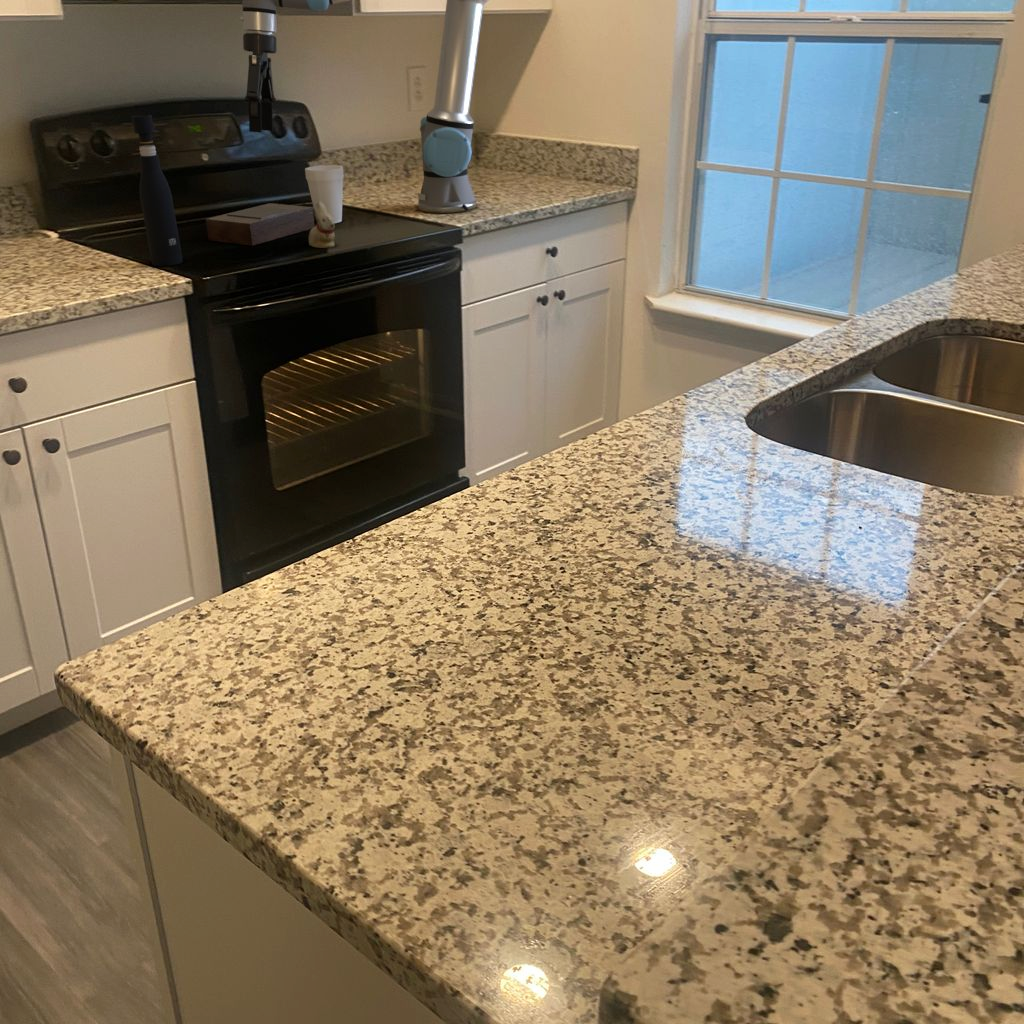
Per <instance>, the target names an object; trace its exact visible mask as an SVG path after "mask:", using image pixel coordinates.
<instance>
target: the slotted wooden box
mask: <svg viewBox="0 0 1024 1024" xmlns="http://www.w3.org/2000/svg"><path fill="white" fill-rule="evenodd" d="M313 208H314V207H313V206H303V205H293V204H284V203H283V204H281V203H272V202H271V203H265V204H261V205H257V206H253V207H249V208H245V209H241V210H237V211H232V212H228V213H224V214H221V215H220V214H219V215H215V216H212V217H208V218H205V225H206V232H207V237H208V241H211V242H219V243H227V244H236V245H245V246H251V247H252V246H256V245H260V244H263V243H266V242H270V241H274V240H278V239H280V238H281V239H282V238H284V237H288V236H291V235H294V234H299V233H302V232H306V231H310V230H311V229H312V228H313V227H315V226H316V225H315V218H314V217H315V215H314V211H313Z"/></svg>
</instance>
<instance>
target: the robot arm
mask: <svg viewBox="0 0 1024 1024" xmlns="http://www.w3.org/2000/svg"><path fill="white" fill-rule="evenodd" d="M350 1H352V0H242V2H241V3H242V15H243V16H240V17H239V19H240V21H241V22H242V30H243V31H244V32H245V33H243V35H242V44H243V45H242V47H243V48H242V49H243V50H244V51H245V52H249V53H250V52H251V53H252V54H248V71H247V83H246V94H245V96H244V101H245V102H248V128H249V129H248V131H249V132H251V133H262V132H263V131H267V132H273V131H274V117H273V113H274V112H273V109H274V108H273V107H274V106H273V103H276V102H277V98H276V97H275V93H274V92H275V91H274V82H273V73H272V59H271V57H268V54H276V53H277V49H278V48H277V37H276V36H275V34H277V32H278V29H277V27H278V26H277V8H287V9H297V10H307V11H308V10H309V11H313V12H314V11H315V12H317V11H321V12H322V11H327V10H328V9H329V6H331V5H335V4H340V3H345V2H350ZM489 1H490V0H446V5H445V13H444V19H443V20H444V21H443V29H442V36H441V37H442V38H441V46H440V55H439V63H438V70H437V77H436V78H437V79H436V88H435V95H434V105H433V108H432V109H430V110H429V111H428V112H427V113H426V116H423V117H422V118H421V119H420V126H419V130H420V140H421V155H422V170H423V171H422V172H423V173H422V174H423V180H422V184H421V189H420V192H417V197H418V203H417V204H418V210H419V211H422V212H426V213H434V214H449V213H450V214H451V213H461V212H462V213H463V212H469V211H472V210H474V209H475V208H476V207H477V198H476V196H475V194H474V190H473V188H472V185H471V182H470V179H469V170H468V167H469V166H468V165H469V164H470V162H471V160H472V154H473V151H472V140H473V134H474V133H473V131H474V125H475V120H474V119H473V118H472V115H470V109H471V101H472V92H473V85H474V79H475V71H476V63H477V55H478V48H479V40H480V33H481V26H482V19H483V11H484V6H485V4H486V3H487V2H489Z"/></svg>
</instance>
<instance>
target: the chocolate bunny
mask: <svg viewBox="0 0 1024 1024" xmlns="http://www.w3.org/2000/svg"><path fill="white" fill-rule="evenodd" d="M313 216H314V217H315V220H316V219H317V220H316V225H315V227H313V228H312V229H310V230H309V234H308V245H309V246H310V247H312V248H318V249H329V248H334V247H335V246H336V245H335V241H334V240H335V237H336V235H335V231H334V229H335V227H336V225H335V224H336V223H334V219H333V217H332V216H331V215H330V214H329V213H328V211H327V209H326V207H325V205H324V204H323V203H322V202H320V201H318V203H317V204H316V206H314V207H313Z"/></svg>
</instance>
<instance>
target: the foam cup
mask: <svg viewBox="0 0 1024 1024" xmlns="http://www.w3.org/2000/svg"><path fill="white" fill-rule="evenodd" d="M304 174H305V180H306V181H307V187H308V190H309V194H310V195H309V196H310V199H311V203H312V207H313V208H314V206H316V204H317V203H318V201H320V202H322V203H323V204H324V205H325V207H326V209H327V211H328V213H329V214H330V215H331V216H332V217H333V219H334V224H337V223H341V222H342V221H343V197H344V196H343V195H344V194H343V193H344V178H345V174H344V166H342V165H337V164H335V165H334V164H324V165H313V166H308V167H305V168H304ZM315 220H316V221H317V219H316V218H315Z"/></svg>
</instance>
